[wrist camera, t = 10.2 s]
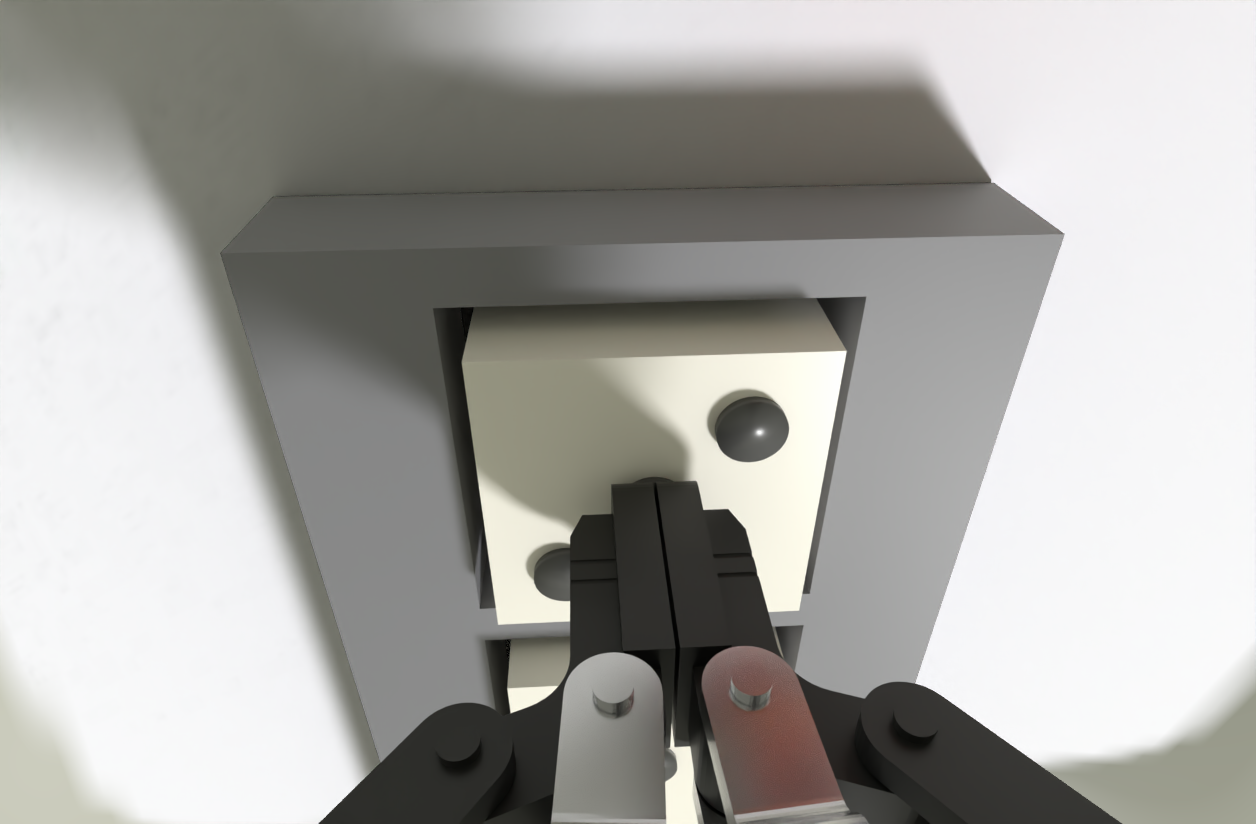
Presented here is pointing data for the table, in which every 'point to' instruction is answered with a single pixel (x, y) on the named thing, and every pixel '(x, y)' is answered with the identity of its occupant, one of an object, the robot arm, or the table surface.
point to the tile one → (542, 671)
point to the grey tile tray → (629, 273)
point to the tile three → (647, 428)
